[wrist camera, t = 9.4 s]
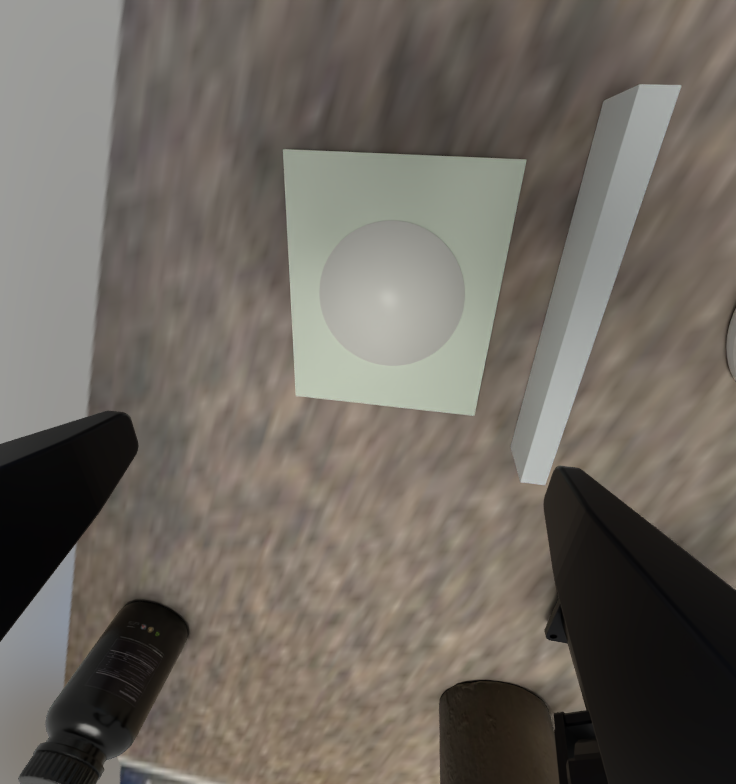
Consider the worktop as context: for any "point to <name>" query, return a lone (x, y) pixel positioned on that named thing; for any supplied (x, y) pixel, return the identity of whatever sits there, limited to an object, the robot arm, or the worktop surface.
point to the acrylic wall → (589, 266)
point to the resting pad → (396, 273)
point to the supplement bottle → (108, 696)
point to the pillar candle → (495, 736)
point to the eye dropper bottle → (732, 345)
